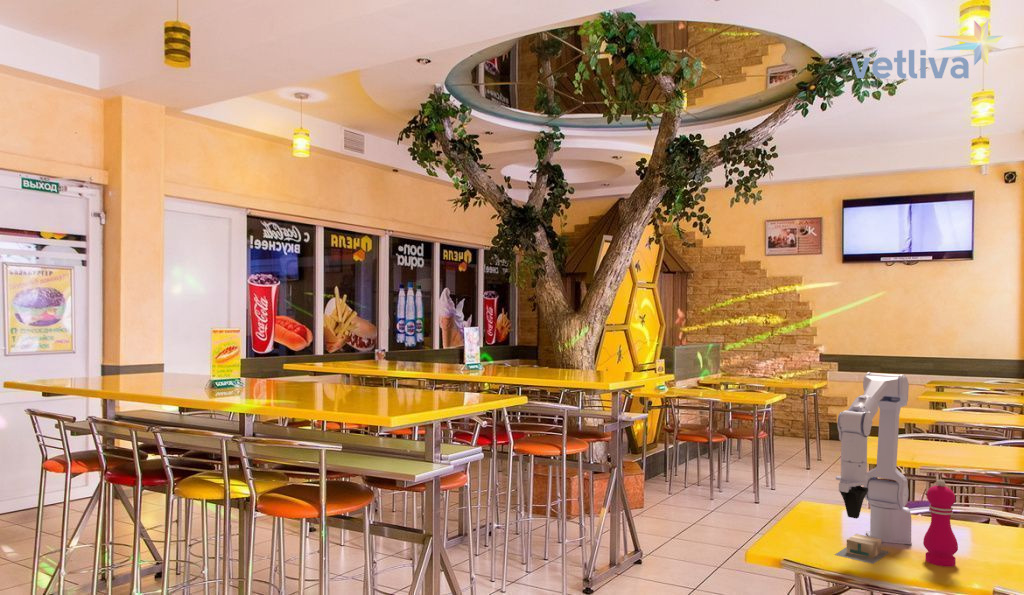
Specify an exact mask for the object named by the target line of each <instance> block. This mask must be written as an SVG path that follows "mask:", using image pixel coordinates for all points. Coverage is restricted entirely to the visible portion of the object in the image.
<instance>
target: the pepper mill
mask: <svg viewBox="0 0 1024 595" xmlns="http://www.w3.org/2000/svg"><path fill="white" fill-rule="evenodd" d="M926 499H927V501H928V502H929V503H930V504H929V505H928V507H929V508H928V511H929V512H930V517H931V518H930V525H929V527H928V529H927V531H926V532H925V534H924V536H923V541H922V542H923V547H924V548H925V549H926V552H925V562H927V563H929V564H932V565H934V566H939V567H940V566H941V567H948V568H949V567H950V568H951V567H955V566H956V563H957V562H956V557H955V556H954V555H955V554H956V553H957V552H958V550H959V549H958V548H959V546H958V545H959V544H958V541H957V538H956V536H955V533H954V531H953V528H952V525H951V516H952V515H953V514H954V512H953V510H954V509H953V507H952V506H953V505H954V504H955V502H956V496H955V492H954V491H953V489H951V488H949V487H948V486H946V482H945V480H944V479H937V481H936V485H933V486H931V487H929V488H928V490H927V492H926Z"/></svg>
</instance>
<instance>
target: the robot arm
mask: <svg viewBox="0 0 1024 595" xmlns="http://www.w3.org/2000/svg"><path fill="white" fill-rule="evenodd" d="M862 383H863V384H862V385H863V387H862V388H863V391H864V392H863V394H862V395H859V396H857V397H856V398H855V399H854V400H853V401H852V403H851V405H850V406H849V407H848V409H847V410H843V411H840V413H839V414H838V417H837V430H838V439H839V441H840V448H841V449H840V475H837V476H835V480H836V481H839V482H838V492H839V493H840V495H841V497H842V499H843V503H844V506H845V509H846V514H847V518H853V519H858V518H859V517H860V516H861V515H860V514H861V511H862V510H861V509H862V506H863V502H864V500H866V501H867V502H868V505H870V512H869V514H870V516H869V517H870V519H869V520H870V523H869V524H870V527H869V528H870V530H869V531H865V534H866V536H869V537H873V538H878V539H882V541H881V543H888V544H889V543H890V544H900V545H913V542H912V514H911V510H910V508H909V507H906V506H907V504H908V500H909V486H908V478H907V477H906V475H904V474H903V473H902V472H901V471H899V470H898V469H897V466H898V464H897V463H898V448H899V447H898V445H899V442H898V441H899V424H900V412H901V409H902V407H905V406H908V401H909V386H910V384H909V380H908V377H907V376H906V375H905V374H895V373H894V374H893V373H879V372H878V373H877V372H871V371H868V372H866V373H865V375H864V377H863V381H862ZM878 411H879V415H878V416H879V418H878V435H877V436H878V437H877V452H876V453H877V454H876V466H875V467H874V468H872V469H871V470H869V471H868V437H869V436H870V434H871V429H872V426H873V420H874V418H875V416H876V414H877V413H878ZM879 478H881V479H879Z"/></svg>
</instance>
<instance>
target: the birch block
mask: <svg viewBox="0 0 1024 595" xmlns="http://www.w3.org/2000/svg"><path fill="white" fill-rule="evenodd" d="M881 541H882V539H878V538H873V537H869V536H868V535H863V534H860V533H859V534H858V533H855V534H854V535H851V537H848V538H847V539H846V547H847V553H851V554H855V555H859V556H864V557H868V558H874V557H875V556H876V555H878V554H879V553H881V550H882V542H881Z"/></svg>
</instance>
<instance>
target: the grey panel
mask: <svg viewBox="0 0 1024 595" xmlns="http://www.w3.org/2000/svg"><path fill="white" fill-rule="evenodd" d="M889 553H890V551H888V550H884V549H881V553H879V554H878V555H876V556H875V557H874V558H868V557H864V556H859V555H855V554H851V553H847V546H846V547H844V548H842V549H841V550H840V551H838V552H836V553H835V554H834V556H838V557H842V558H845V559H846V558H847V559H851V560H854V561H858V562H863V563H868V564H872V565H874V564H875V563H877V562H879V560H881V559H883V558H884V557H885V556H887V555H888V554H889Z"/></svg>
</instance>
